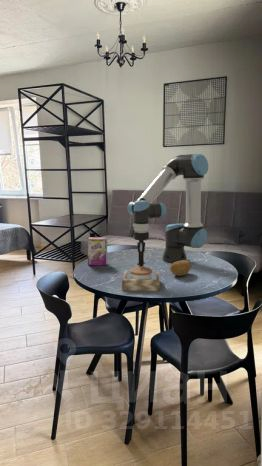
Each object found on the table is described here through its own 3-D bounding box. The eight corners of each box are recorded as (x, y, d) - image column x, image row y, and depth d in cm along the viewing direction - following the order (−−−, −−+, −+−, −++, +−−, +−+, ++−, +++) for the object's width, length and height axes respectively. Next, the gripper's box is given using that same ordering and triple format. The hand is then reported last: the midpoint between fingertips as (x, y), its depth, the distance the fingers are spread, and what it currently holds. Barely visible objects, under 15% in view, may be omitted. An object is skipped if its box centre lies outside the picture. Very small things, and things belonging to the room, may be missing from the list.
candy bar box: (87, 265, 191) (87, 238, 188) (89, 263, 195) (89, 237, 193) (106, 266, 189) (105, 239, 187) (107, 263, 194) (107, 237, 191)
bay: (158, 280, 163) (158, 271, 162) (159, 290, 148) (159, 280, 148) (124, 280, 164) (124, 270, 163) (122, 290, 149) (122, 280, 148)
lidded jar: (153, 288, 152) (153, 269, 150) (131, 289, 151) (131, 270, 149) (150, 281, 162) (150, 263, 160) (129, 281, 161) (129, 263, 160)
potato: (195, 273, 174) (195, 259, 173) (181, 280, 164) (181, 265, 162) (180, 270, 180) (180, 256, 179) (165, 276, 170) (166, 261, 169)
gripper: (134, 229, 167) (134, 272, 171) (133, 233, 154) (133, 280, 158) (148, 229, 166) (148, 272, 170) (148, 233, 153) (148, 280, 158)
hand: (141, 276), depth 164 cm, fingers closed
